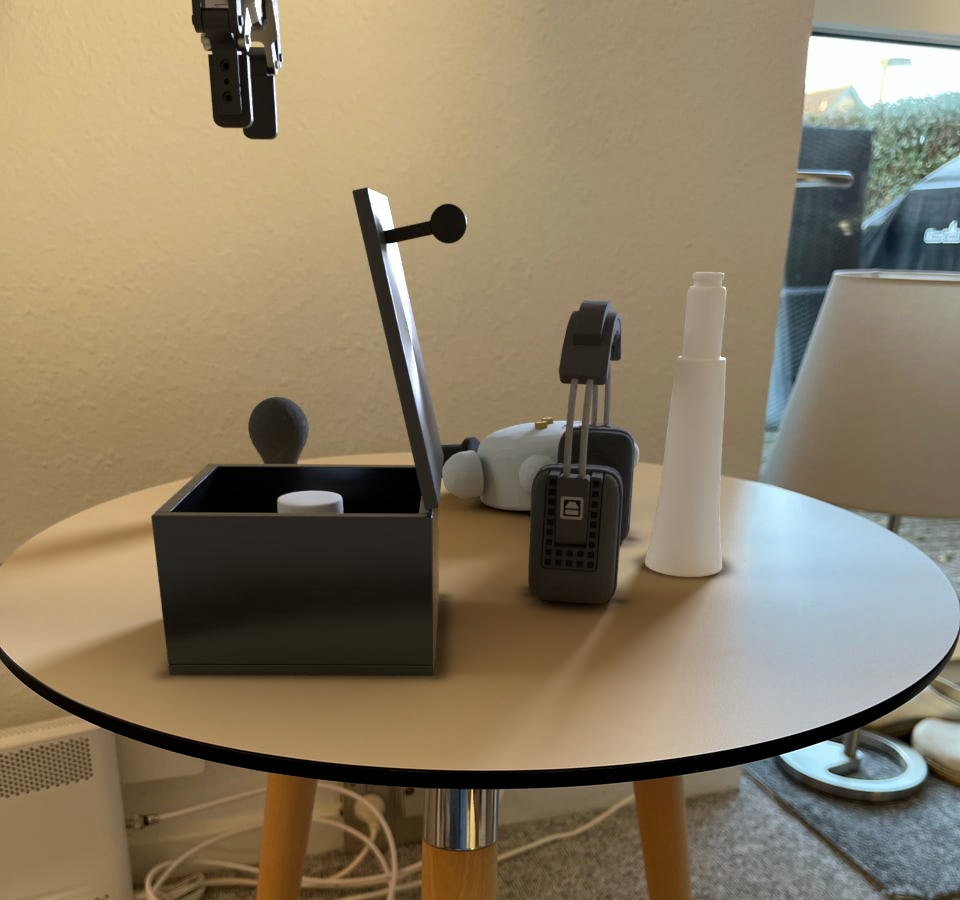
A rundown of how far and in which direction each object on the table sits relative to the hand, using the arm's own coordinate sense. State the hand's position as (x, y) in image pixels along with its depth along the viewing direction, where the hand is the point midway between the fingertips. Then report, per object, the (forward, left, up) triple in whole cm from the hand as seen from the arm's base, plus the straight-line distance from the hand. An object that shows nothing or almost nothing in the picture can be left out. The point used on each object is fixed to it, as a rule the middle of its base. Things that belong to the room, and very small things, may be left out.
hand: (248, 133), depth 63 cm
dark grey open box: (+4, -9, -30) cm, 32 cm away
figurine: (+20, +27, -30) cm, 45 cm away
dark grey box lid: (+10, -9, -12) cm, 18 cm away
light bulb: (-4, +26, -30) cm, 40 cm away
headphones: (+23, +6, -30) cm, 39 cm away
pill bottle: (+4, -9, -30) cm, 31 cm away
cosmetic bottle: (+31, +6, -30) cm, 44 cm away
